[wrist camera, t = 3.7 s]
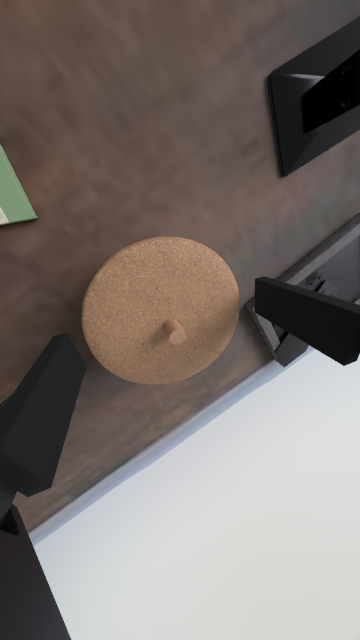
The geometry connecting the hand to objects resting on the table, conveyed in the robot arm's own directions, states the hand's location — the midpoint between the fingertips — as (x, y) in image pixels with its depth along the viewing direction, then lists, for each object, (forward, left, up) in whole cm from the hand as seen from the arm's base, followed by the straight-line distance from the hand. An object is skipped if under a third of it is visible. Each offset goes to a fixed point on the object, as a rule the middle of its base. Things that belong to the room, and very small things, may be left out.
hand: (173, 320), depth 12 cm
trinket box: (0, 0, -8) cm, 8 cm away
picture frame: (+22, -7, -8) cm, 24 cm away
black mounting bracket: (+20, +13, -8) cm, 25 cm away
